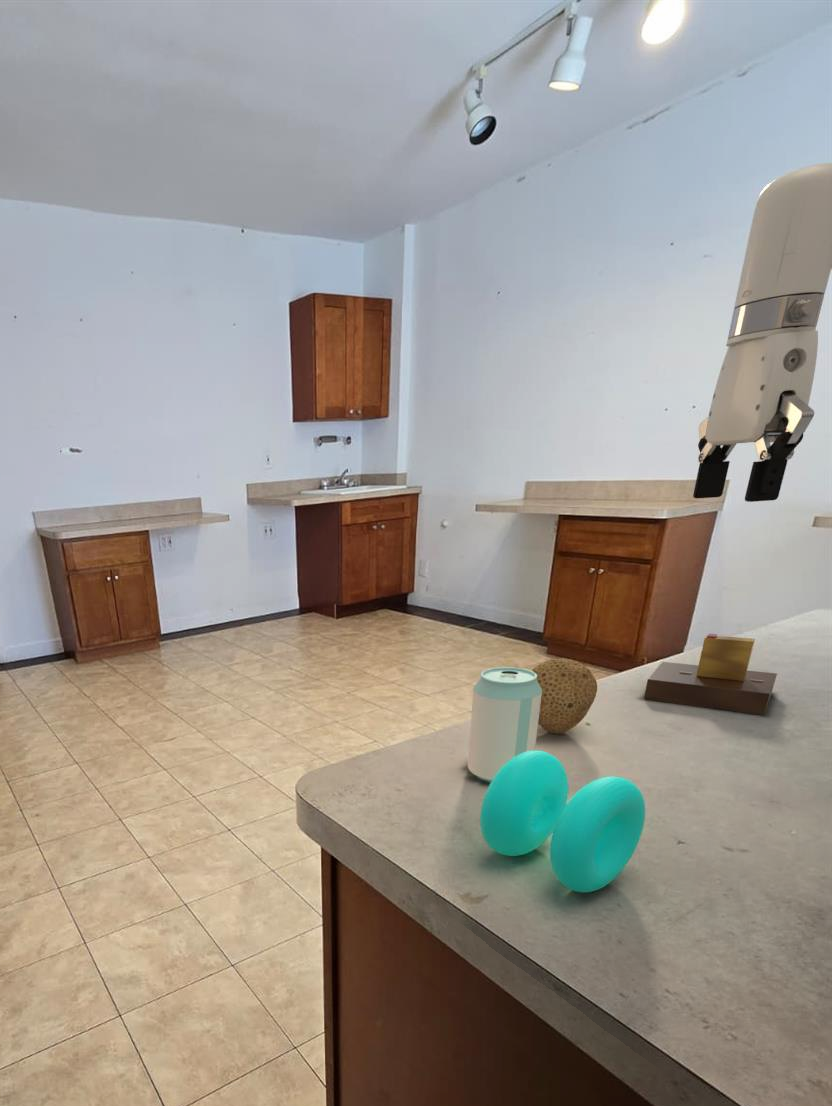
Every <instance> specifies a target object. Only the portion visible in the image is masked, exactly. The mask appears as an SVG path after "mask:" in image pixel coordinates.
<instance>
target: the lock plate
mask: <svg viewBox="0 0 832 1106" xmlns="http://www.w3.org/2000/svg"><path fill="white" fill-rule="evenodd" d="M698 665H699V664H688V663H679V662H671V661H670V662H668V661H661V662H660V663H659V665H658V666H657V667H656V668H655V670H654V671H653V672H652V673H651V675H650V676H648V678H647V681H646V685H645V692H644V696H643V699H644V700H650V701H655V702H656V701H657V702H664V703H670V704H677V705H684V706H685V705H686V706H692V707H693V706H694V707H701V708H707V709H714V710H723V711H730V712H737V713H745V714H752V715H759V716H765V713H766V711H767V708H768V706H769V702H770V699H771V696H772V693H773V689H774V686H775V682H776V679H777V676H778V673H775V672H767V671H757V670H748V669H747V672H746V676H745V679H744V681H737V680H728V679H719V678H710V677H701V676H696V674H697V670H698Z"/></svg>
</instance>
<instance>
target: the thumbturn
mask: <svg viewBox="0 0 832 1106" xmlns="http://www.w3.org/2000/svg"><path fill="white" fill-rule="evenodd" d="M755 641H756V638H749V637H737V636H724V635H718V634H717V633H708V634H706V636H705V637H704V639H703V644H702V648H701V653H700V657H699V662H698V664H697V665H698V670H697V674H696V676H701V677H710V678H719V679H728V680H737V681H744V679H745V676H746V672H747V670H748V669H749V665H750V660H751V658H752V657H751V656H752V652H753V649H754V645H755Z"/></svg>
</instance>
